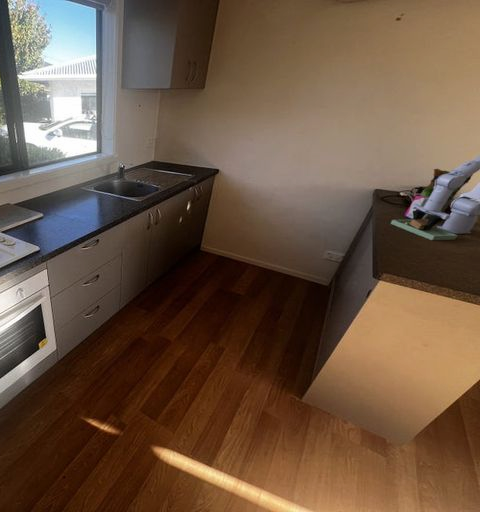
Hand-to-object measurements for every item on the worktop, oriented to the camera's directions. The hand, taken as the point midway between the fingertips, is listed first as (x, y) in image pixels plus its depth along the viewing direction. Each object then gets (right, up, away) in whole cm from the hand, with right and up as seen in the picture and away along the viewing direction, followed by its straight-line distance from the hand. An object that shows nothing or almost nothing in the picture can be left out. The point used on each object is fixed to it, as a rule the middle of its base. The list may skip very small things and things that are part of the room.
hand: (420, 227), depth 140 cm
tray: (0, -2, 0) cm, 2 cm away
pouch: (+24, +8, +19) cm, 32 cm away
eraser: (0, 0, 0) cm, 0 cm away
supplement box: (+13, +6, +15) cm, 21 cm away
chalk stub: (0, +3, +5) cm, 5 cm away
